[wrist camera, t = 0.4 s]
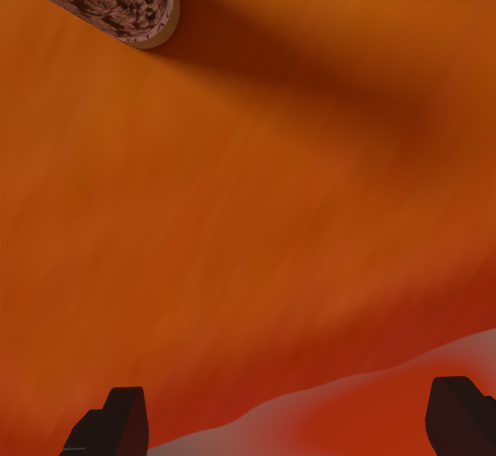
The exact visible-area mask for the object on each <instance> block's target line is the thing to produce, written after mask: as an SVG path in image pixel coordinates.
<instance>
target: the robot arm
mask: <svg viewBox="0 0 496 456" xmlns="http://www.w3.org/2000/svg"><path fill="white" fill-rule="evenodd" d="M425 425H426V432H427V435H428V438H429V441H430V443H431V445H432V447H433V449H434V450H435V452H436V454H437V456H496V400H495V399H493V398H492V397H491V396H484V395H482V393H481V392H480V391H479V390H478V388H477V387H476V386H475V385H474V384H473V382H472V381H471V380H470V379H469V378H467V377H465V376H450V377H436V378H434V380H433V382H432V387H431V392H430V397H429V402H428V408H427V412H426V418H425ZM148 443H149V426H148V419H147V413H146V406H145V399H144V392H143V388H142V387H114V388H112V389H111V391H110V393H109V395H108V397H107V400H106V402H105V404H104V406H103V409H99V410H89V411H88V413H87V414H86V415H85V416H84V417H83V418H82V419H81V420H80V421H79V422H78V423H77V424H76V425H75V426H74V427H73V429H72V431H71V433H70V435H69V437H68V439H67V441H66V443H65V445H64V447H63V452H61V453H60V455H59V456H146V455H147V450H148Z"/></svg>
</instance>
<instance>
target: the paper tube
mask: <svg viewBox="0 0 496 456" xmlns="http://www.w3.org/2000/svg"><path fill="white" fill-rule="evenodd" d="M50 1H51V2H53V3H55V4H57V5H58V6H60V7H62V8H64V9H65V10H67V11H69V12H70V13H72V14H74V15H76V16H77V17H79V18H81V19H83V20H84V21H86V22H88V23H89V24H91V25H93V26H95V27H96V28H98V29H100V30H102V31H103V32H105V33H107V34H108V35H110V36H112V37H114V38H116V39H118V40H119V41H121V42H123V43H125V44H127V45H129V46H131V47H134V48H139V49H149V48H154V47H157V46H159V45H161V44H163V43H164V42H165V41H167V40H168V39H169V38H170V36H171V35H172V34H173V32H174V31H175V29H176V27H177V24H178V21H179V16H180V0H50Z"/></svg>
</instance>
